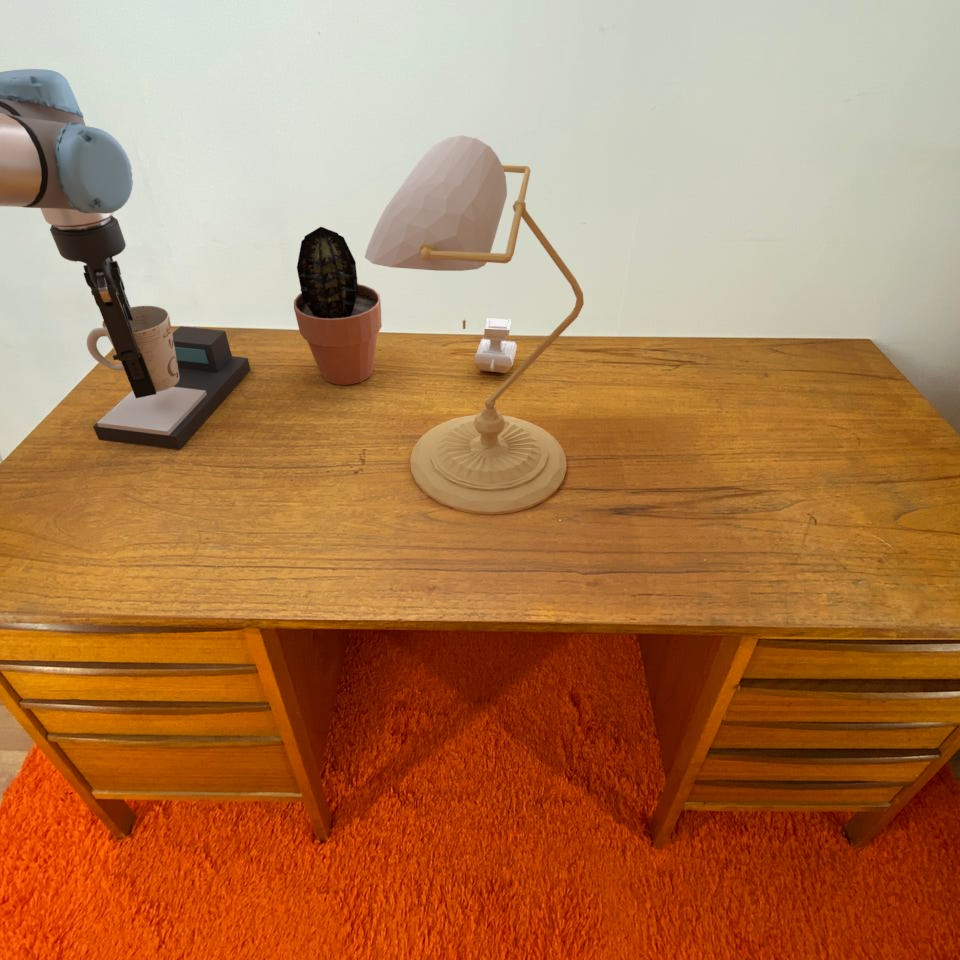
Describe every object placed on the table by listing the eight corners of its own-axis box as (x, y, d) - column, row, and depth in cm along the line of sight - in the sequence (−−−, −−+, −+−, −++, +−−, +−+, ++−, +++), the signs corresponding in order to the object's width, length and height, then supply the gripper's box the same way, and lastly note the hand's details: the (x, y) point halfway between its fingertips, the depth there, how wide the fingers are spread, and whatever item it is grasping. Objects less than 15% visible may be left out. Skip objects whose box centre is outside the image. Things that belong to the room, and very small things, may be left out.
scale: (180, 450, 92) (164, 407, 88) (98, 439, 94) (78, 397, 89) (250, 370, 110) (241, 330, 105) (180, 362, 111) (168, 323, 107)
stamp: (480, 353, 115) (481, 309, 110) (517, 356, 115) (519, 312, 109) (472, 378, 109) (472, 333, 103) (510, 382, 108) (513, 337, 102)
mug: (176, 397, 90) (154, 333, 84) (87, 396, 90) (58, 332, 84) (196, 367, 97) (177, 305, 90) (112, 366, 96) (87, 304, 90)
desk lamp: (425, 396, 104) (412, 120, 78) (567, 407, 102) (601, 128, 76) (381, 528, 81) (341, 196, 55) (564, 545, 79) (612, 210, 53)
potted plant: (403, 366, 111) (392, 219, 95) (349, 402, 103) (328, 247, 86) (344, 345, 117) (325, 202, 101) (289, 377, 108) (258, 227, 92)
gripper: (119, 242, 72) (178, 411, 87) (113, 194, 86) (165, 348, 101) (44, 252, 70) (118, 424, 85) (50, 201, 83) (113, 357, 98)
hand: (144, 382), depth 93 cm, fingers closed on mug, 6 cm apart
